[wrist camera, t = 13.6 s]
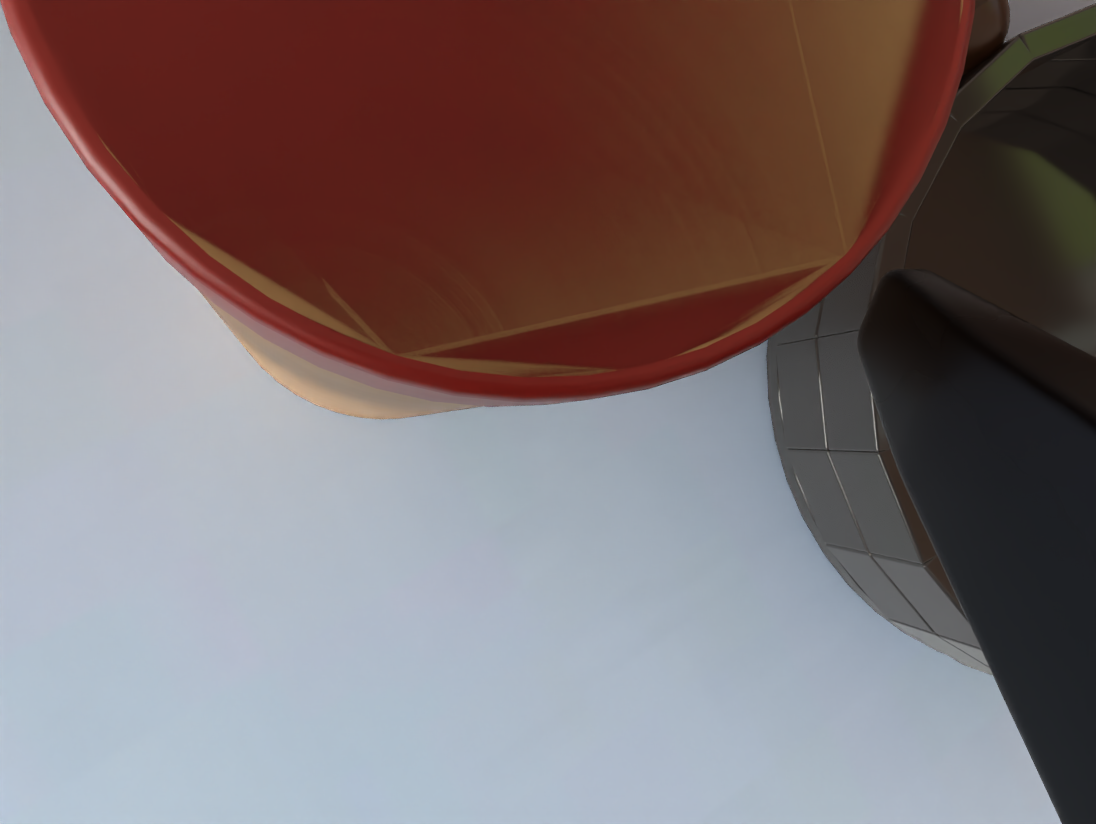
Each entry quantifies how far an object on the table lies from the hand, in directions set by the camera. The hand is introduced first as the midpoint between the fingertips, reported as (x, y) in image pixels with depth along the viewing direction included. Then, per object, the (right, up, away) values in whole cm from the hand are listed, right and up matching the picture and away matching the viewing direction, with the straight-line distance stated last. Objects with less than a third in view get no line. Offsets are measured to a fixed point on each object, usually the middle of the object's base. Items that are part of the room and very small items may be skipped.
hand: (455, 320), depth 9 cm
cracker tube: (-2, +2, +8) cm, 8 cm away
